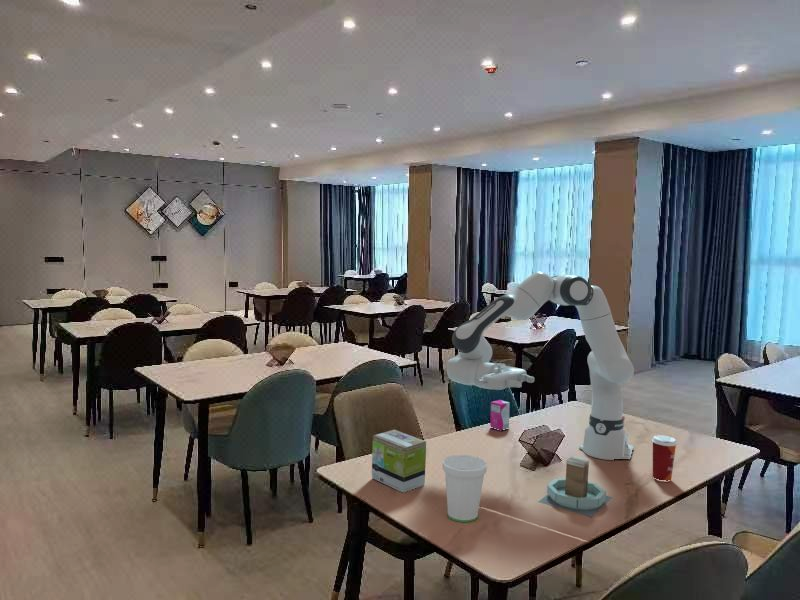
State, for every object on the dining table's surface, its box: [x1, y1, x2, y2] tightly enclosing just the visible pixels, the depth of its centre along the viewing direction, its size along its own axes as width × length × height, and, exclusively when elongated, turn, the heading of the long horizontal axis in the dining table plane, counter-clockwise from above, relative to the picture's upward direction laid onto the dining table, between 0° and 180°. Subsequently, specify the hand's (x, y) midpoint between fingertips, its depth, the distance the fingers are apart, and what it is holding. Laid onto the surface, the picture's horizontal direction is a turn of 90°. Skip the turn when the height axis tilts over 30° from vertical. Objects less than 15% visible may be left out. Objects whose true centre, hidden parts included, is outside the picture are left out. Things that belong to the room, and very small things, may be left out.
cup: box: [441, 454, 488, 523], centre depth 166 cm, size 12×12×15 cm
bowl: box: [546, 477, 607, 510], centre depth 179 cm, size 16×16×3 cm
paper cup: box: [651, 434, 678, 481], centre depth 198 cm, size 8×8×14 cm
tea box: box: [371, 429, 427, 494], centre depth 188 cm, size 15×10×15 cm, turn 45°
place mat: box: [538, 493, 613, 518], centre depth 179 cm, size 18×16×1 cm
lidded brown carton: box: [565, 455, 590, 498], centre depth 178 cm, size 5×5×11 cm
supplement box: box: [489, 399, 510, 430], centre depth 248 cm, size 6×6×12 cm
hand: (527, 382), depth 193 cm, fingers open, 8 cm apart
